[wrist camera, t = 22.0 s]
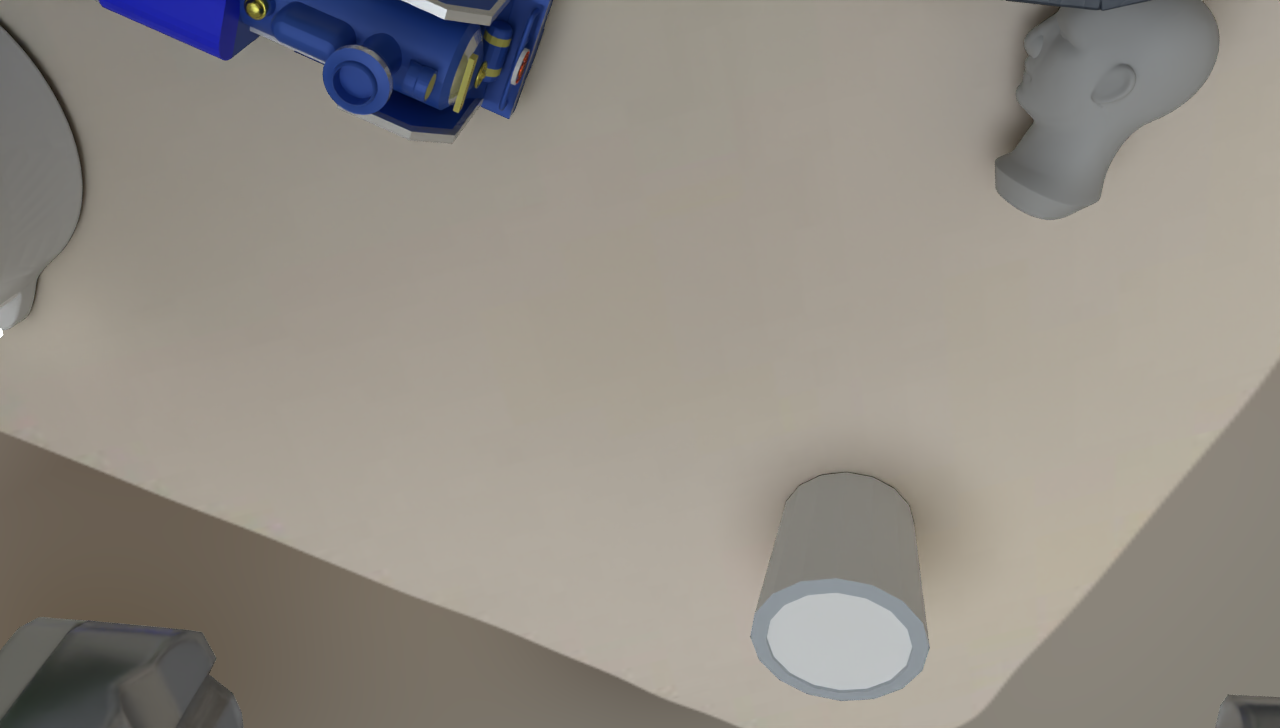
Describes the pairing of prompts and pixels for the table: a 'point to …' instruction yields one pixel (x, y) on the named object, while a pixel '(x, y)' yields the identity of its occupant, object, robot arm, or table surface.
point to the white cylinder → (843, 592)
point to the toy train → (378, 51)
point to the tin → (1084, 3)
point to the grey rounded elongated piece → (1099, 95)
